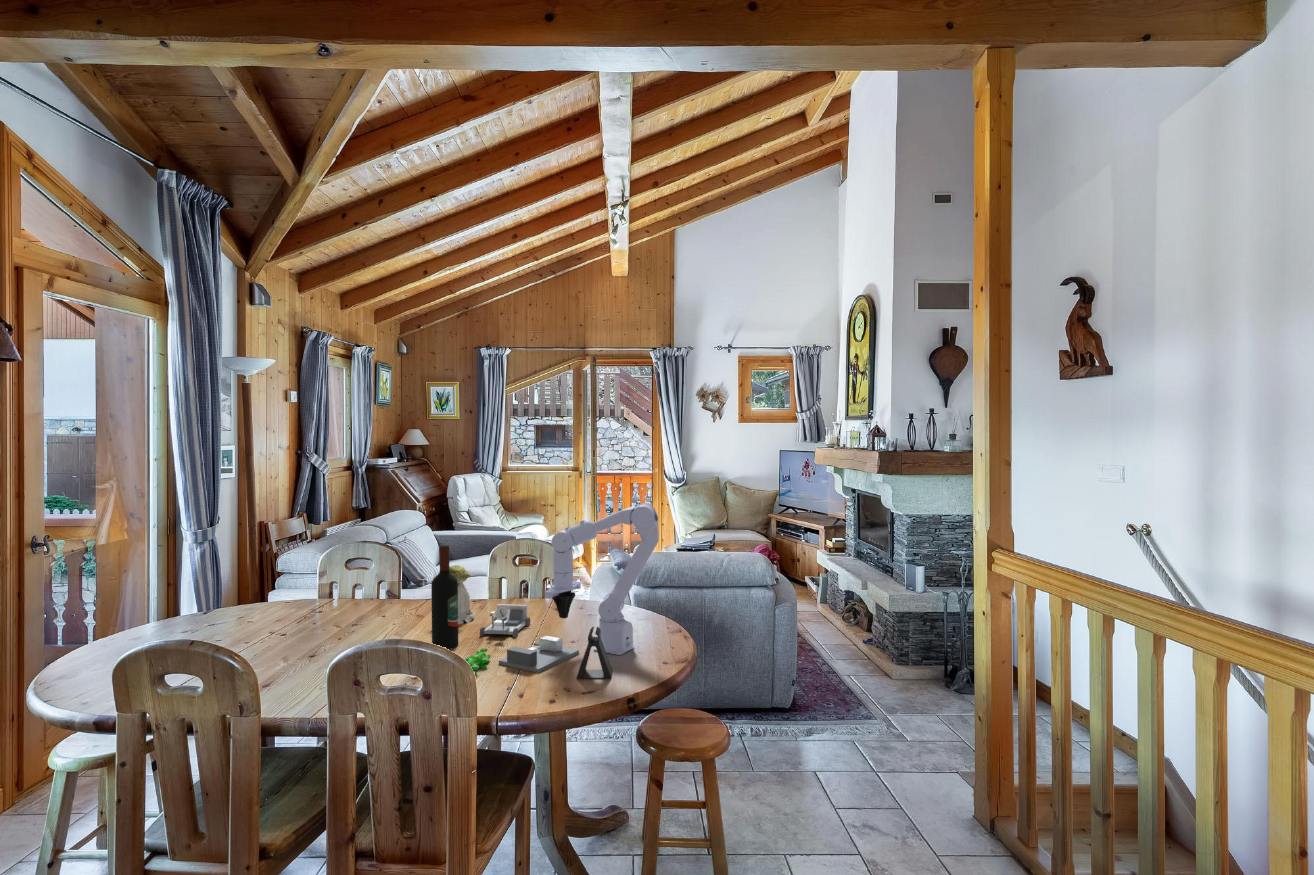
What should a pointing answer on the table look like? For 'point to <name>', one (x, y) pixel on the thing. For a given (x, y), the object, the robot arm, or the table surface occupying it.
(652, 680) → the table surface
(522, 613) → the toy car
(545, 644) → the plunger
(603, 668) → the phone stand
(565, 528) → the robot arm
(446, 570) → the wine bottle
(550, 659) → the gauge base
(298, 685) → the table surface
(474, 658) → the crocodile figurine
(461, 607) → the yellow-capped mushroom figurine
